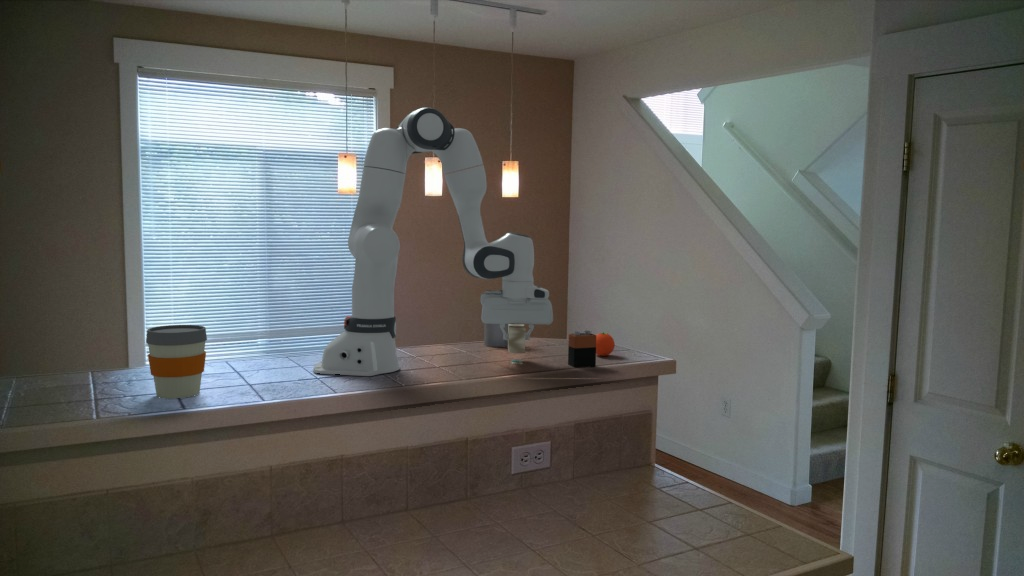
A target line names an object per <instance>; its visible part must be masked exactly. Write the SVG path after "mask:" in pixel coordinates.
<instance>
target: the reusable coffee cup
mask: <svg viewBox="0 0 1024 576" xmlns="http://www.w3.org/2000/svg"><path fill="white" fill-rule="evenodd" d="M145 338H146V339H145V343H146V344H147V346H148V354H147V358H148V365H149V371H150V375H151V376H152V377H153V382H154V389H155V394H156V397H157V398H159V397H160V398H159V399H163V398H166V399H165V400H175V399H174V398H180V399H185V398H184V397H188V398H191V397H190V396H193V397H195V396H194V395H196V396H198V395H199V394H200V393H201V392H200V391H201V385H202V376H203V373H204V372H205V367H206V356H207V351H206V350H205V347H206V341H207V340H208V337H207V329H206V327H205V326H204V325H198V324H197V325H196V324H169V325H161V326H153V327H150V328H147V329H146V337H145ZM197 394H198V395H197Z"/></svg>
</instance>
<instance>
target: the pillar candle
mask: <svg viewBox="0 0 1024 576" xmlns="http://www.w3.org/2000/svg"><path fill="white" fill-rule="evenodd" d="M504 330H505V332H506V333H508V324H505V328H504ZM483 335H484V346H486V347H491V348H508V340H504V339H503V332H502V330H501V328H500V324H490V323H484V334H483Z"/></svg>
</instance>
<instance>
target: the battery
mask: <svg viewBox="0 0 1024 576" xmlns="http://www.w3.org/2000/svg"><path fill="white" fill-rule="evenodd" d="M592 332H593V331H592V330H589V329H588V330H587V329H586V330H584V331H583V332H580V331H574V332H573V333H569V334H568V348H567V349H568V350H567V351H568V354H567V355H568V356H567V365H568V366H570V367H573V368H584V367H589V368H595V367H596V363H597V359H596V358H597V354H596V335H597V334H594V333H592Z"/></svg>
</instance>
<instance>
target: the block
mask: <svg viewBox="0 0 1024 576" xmlns="http://www.w3.org/2000/svg"><path fill="white" fill-rule="evenodd" d="M526 331H527V329H526V326H525V324H508V333H509V336H508V337H509V340H508V347H507V350H508V351H507V352H508V353H509V354H526V340H525V336H526V333H527V332H526Z"/></svg>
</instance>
